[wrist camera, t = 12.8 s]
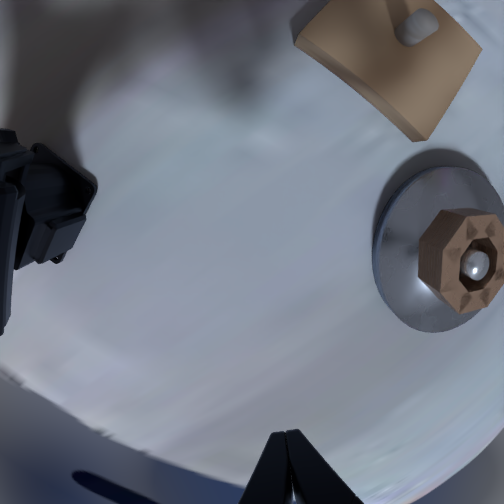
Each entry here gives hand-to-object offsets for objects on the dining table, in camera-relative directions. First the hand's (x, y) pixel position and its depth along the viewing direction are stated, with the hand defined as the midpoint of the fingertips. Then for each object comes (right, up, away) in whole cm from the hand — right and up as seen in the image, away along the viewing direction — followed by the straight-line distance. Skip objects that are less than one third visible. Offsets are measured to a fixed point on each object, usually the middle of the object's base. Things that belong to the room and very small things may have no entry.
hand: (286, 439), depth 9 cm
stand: (+9, +20, +9) cm, 23 cm away
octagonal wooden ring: (+13, +6, +11) cm, 18 cm away
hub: (+13, +6, +12) cm, 19 cm away
